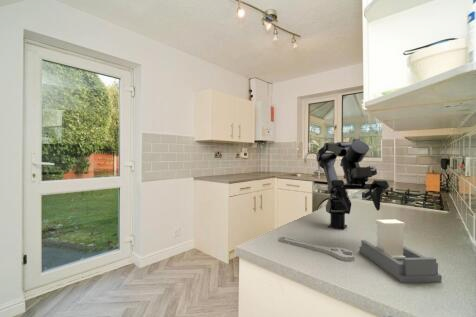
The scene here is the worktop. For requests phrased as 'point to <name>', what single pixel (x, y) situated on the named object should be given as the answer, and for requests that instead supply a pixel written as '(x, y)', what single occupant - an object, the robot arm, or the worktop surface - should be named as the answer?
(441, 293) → the worktop surface
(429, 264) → the switch housing
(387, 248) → the switch tab
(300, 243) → the adjustable wrench
